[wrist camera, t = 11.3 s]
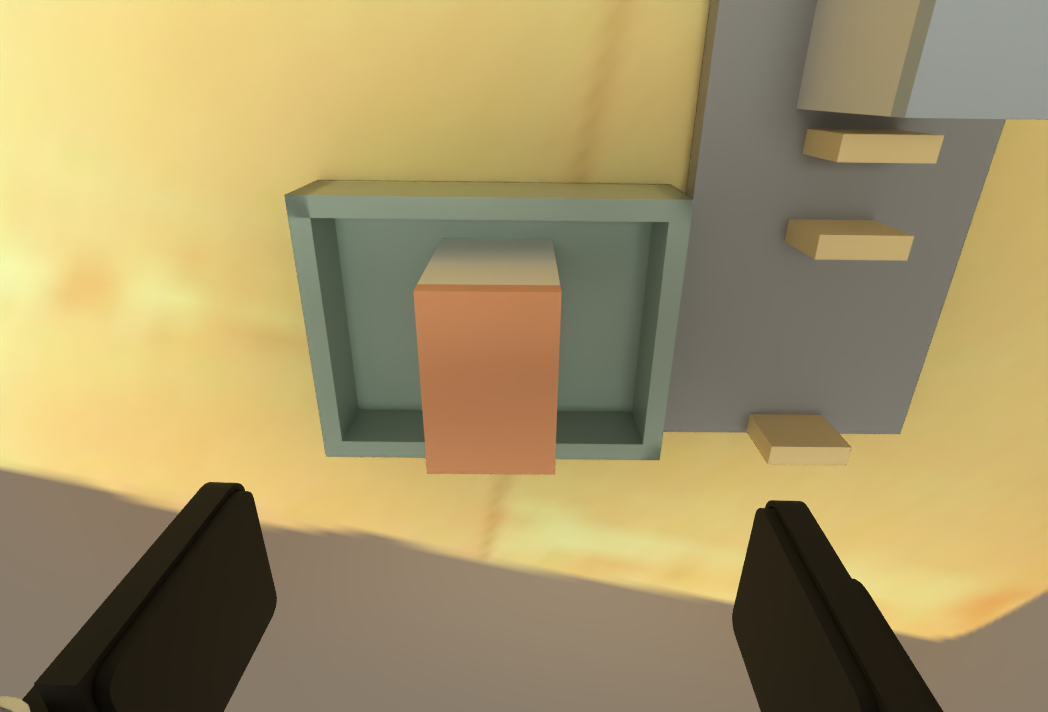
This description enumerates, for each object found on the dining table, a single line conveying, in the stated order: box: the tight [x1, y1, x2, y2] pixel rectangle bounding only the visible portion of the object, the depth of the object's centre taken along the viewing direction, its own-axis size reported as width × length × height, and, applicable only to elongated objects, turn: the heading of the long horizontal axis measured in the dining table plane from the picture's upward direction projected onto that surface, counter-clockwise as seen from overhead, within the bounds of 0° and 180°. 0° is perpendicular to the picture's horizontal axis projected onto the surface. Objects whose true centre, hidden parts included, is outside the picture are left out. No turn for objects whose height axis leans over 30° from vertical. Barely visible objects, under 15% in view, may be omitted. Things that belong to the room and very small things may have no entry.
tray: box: [285, 180, 694, 460], centre depth 22 cm, size 13×10×3 cm
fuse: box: [413, 238, 562, 475], centre depth 20 cm, size 4×6×6 cm, turn 179°
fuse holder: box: [663, 0, 1048, 465], centre depth 18 cm, size 10×20×7 cm, turn 179°
